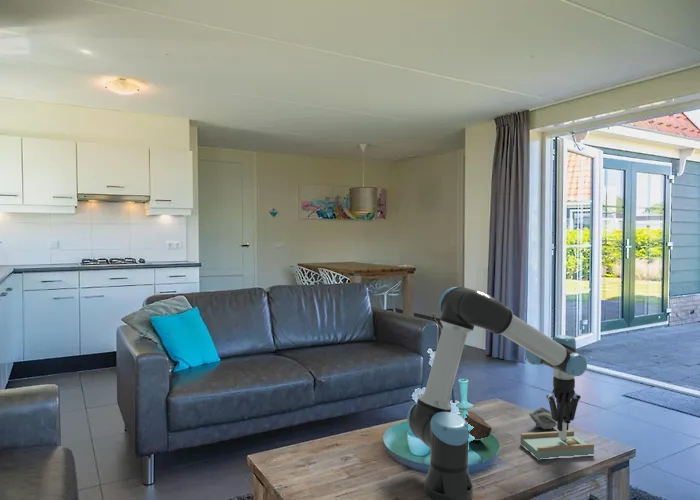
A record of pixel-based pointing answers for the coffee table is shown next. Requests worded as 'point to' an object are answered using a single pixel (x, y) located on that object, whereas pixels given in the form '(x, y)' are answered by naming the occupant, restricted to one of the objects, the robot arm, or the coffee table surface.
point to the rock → (478, 426)
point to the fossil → (543, 418)
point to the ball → (571, 442)
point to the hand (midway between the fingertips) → (562, 438)
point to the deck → (554, 444)
